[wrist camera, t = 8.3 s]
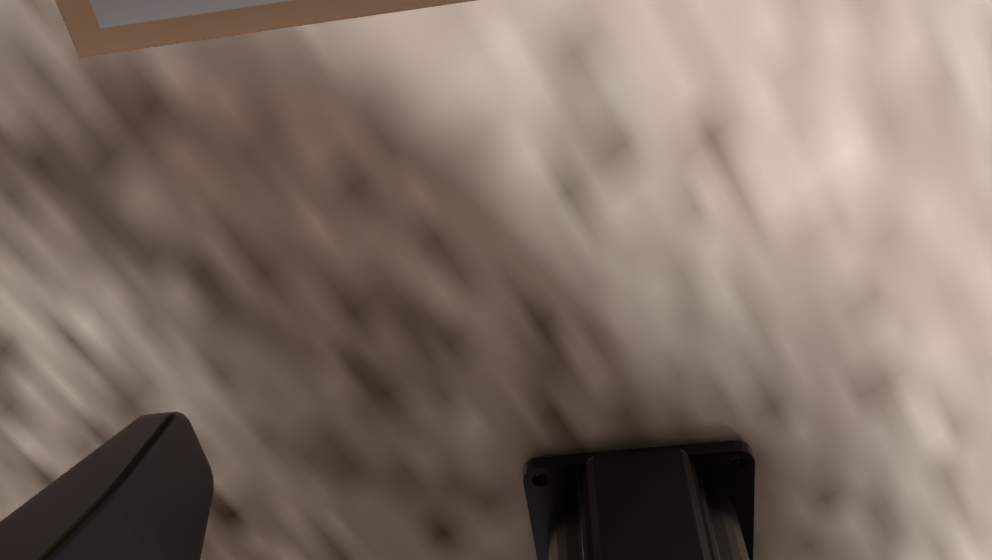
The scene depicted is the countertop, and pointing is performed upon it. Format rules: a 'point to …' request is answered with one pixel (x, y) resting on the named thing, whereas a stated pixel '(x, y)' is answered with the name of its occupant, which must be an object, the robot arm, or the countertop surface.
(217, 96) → the countertop surface
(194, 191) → the countertop surface
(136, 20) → the display plinth
